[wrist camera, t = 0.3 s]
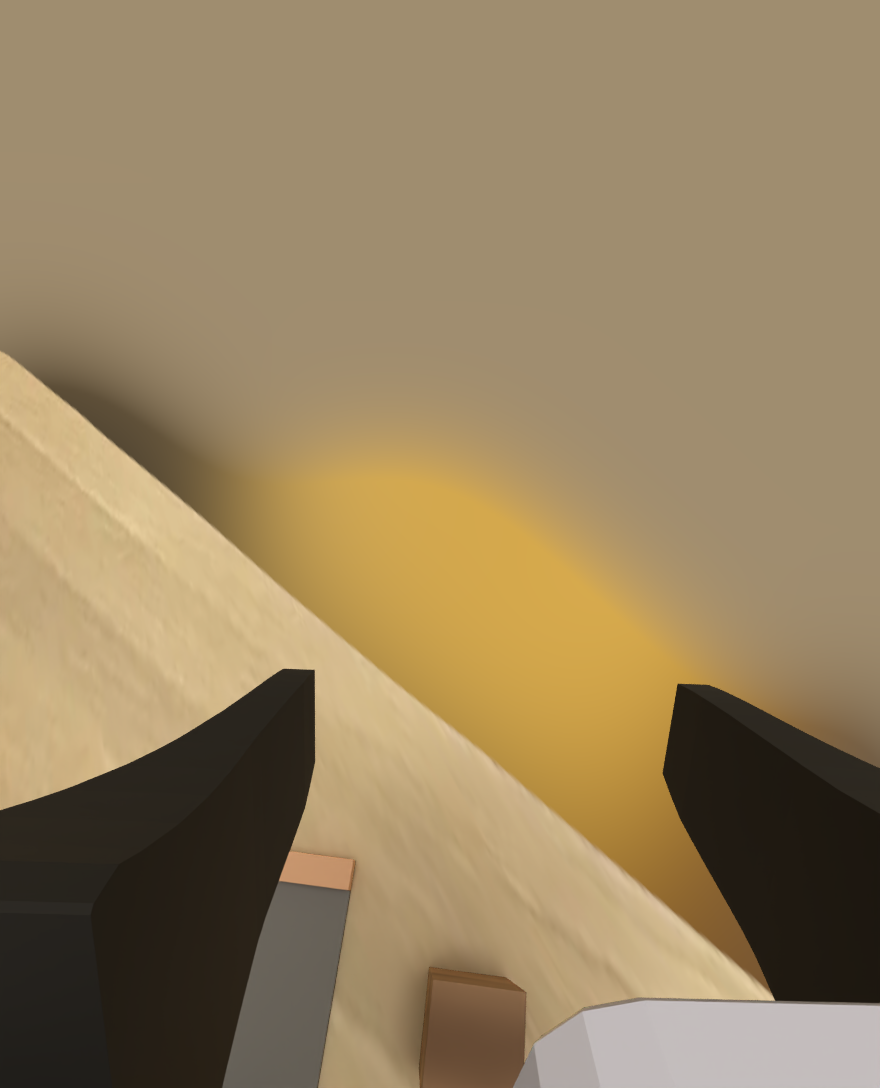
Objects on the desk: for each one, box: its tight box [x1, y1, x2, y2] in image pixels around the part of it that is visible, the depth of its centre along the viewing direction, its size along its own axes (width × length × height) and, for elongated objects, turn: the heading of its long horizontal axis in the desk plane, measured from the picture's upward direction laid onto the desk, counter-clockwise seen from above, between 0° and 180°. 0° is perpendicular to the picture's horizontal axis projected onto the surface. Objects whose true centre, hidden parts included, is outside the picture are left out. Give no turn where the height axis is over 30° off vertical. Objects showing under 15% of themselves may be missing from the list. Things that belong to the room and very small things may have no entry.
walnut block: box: [419, 967, 526, 1088], centre depth 31 cm, size 4×4×7 cm
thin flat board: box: [222, 851, 355, 1088], centre depth 31 cm, size 23×17×2 cm
